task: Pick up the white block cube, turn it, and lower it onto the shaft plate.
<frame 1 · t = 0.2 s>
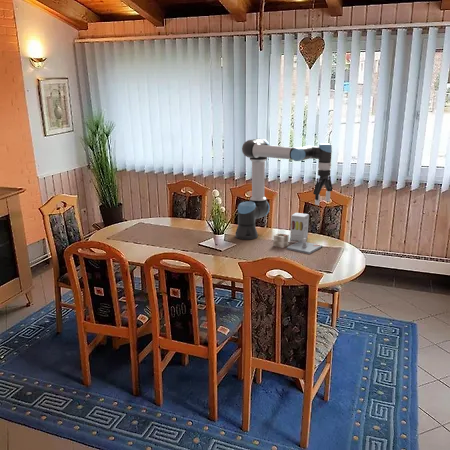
hand: (322, 203, 288), 28 cm above the table, fingers open, 13 cm apart
supplement box: (298, 239, 309), on the table
shaft plate: (304, 248, 290), on the table
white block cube: (280, 245, 295), on the table
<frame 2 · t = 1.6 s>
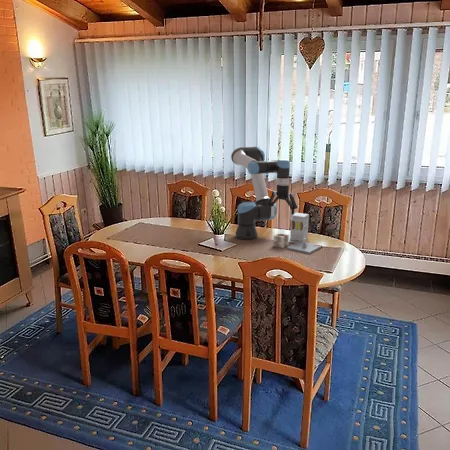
hand: (281, 217, 290), 18 cm above the table, fingers open, 13 cm apart
nothing on the table moved.
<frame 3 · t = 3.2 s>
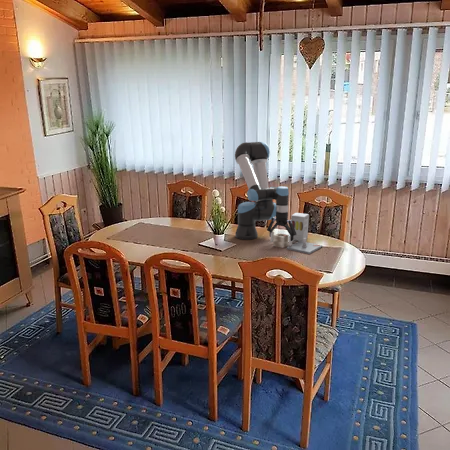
hand: (281, 243, 294), 1 cm above the table, fingers open, 13 cm apart
nothing on the table moved.
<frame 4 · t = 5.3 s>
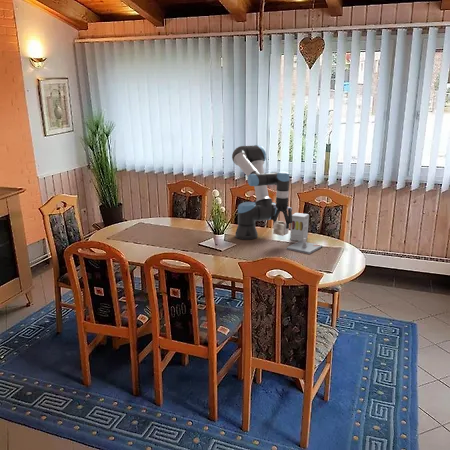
hand: (280, 232, 293), 9 cm above the table, fingers closed on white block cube, 7 cm apart
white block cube: (280, 233, 293), point 8 cm above the table, touching gripper
everything else where it was.
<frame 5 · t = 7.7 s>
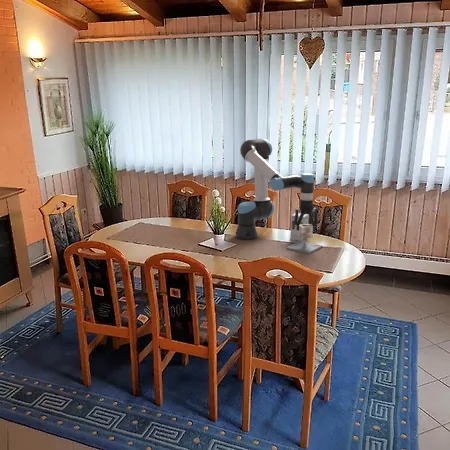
hand: (305, 235, 287), 8 cm above the table, fingers closed on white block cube, 7 cm apart
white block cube: (305, 236, 287), point 8 cm above the table, touching gripper
everything else where it was.
when the fingers open (3 cm above the table, at t = 10.1 s): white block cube stays where it is, resting on shaft plate.
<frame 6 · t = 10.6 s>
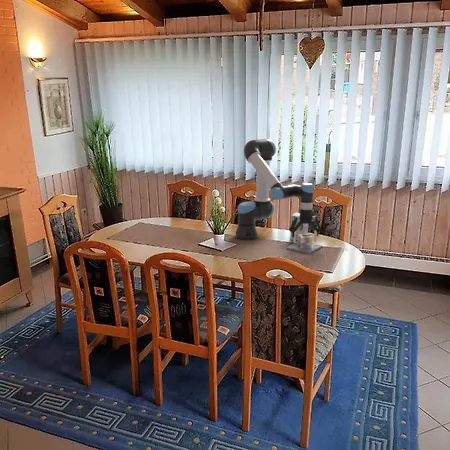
hand: (304, 241, 288), 4 cm above the table, fingers open, 13 cm apart
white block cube: (304, 246, 289), point 1 cm above the table, touching shaft plate
everything else where it was.
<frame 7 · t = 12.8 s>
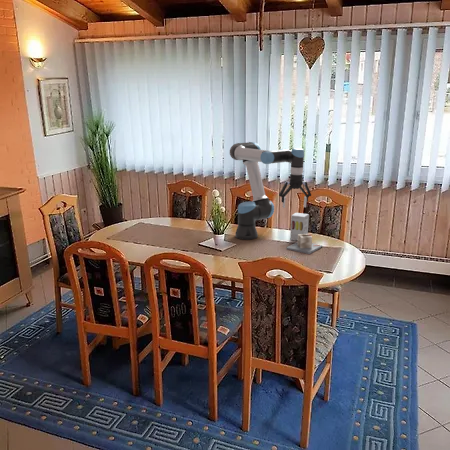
hand: (294, 207, 289), 25 cm above the table, fingers open, 13 cm apart
nothing on the table moved.
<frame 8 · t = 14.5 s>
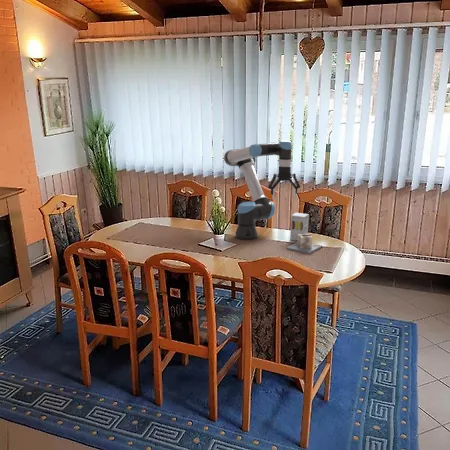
hand: (283, 199, 294), 29 cm above the table, fingers open, 13 cm apart
nothing on the table moved.
at the end: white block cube 0.1 cm off-centre on the shaft plate, point 1.2 cm above the shaft plate's base; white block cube tilted 0°; the gripper is holding nothing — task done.
